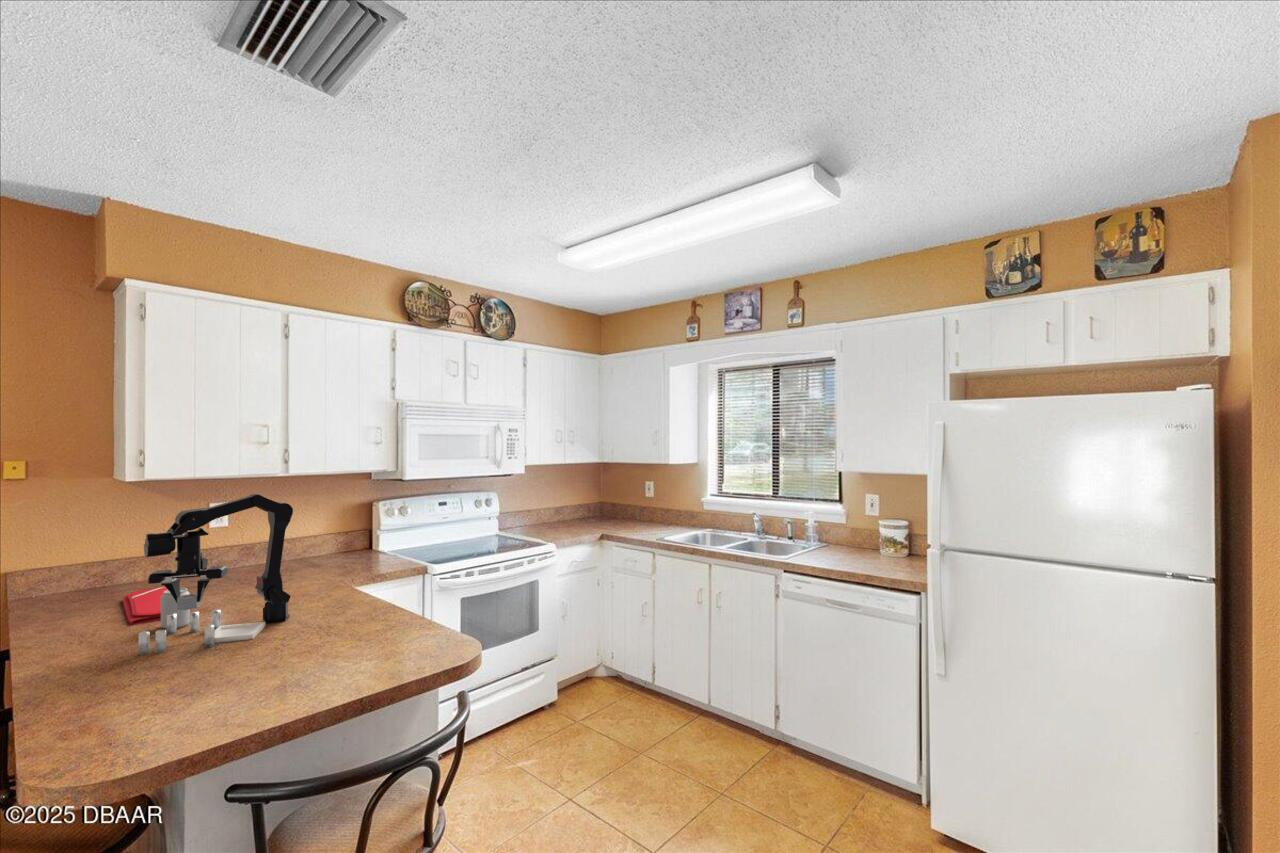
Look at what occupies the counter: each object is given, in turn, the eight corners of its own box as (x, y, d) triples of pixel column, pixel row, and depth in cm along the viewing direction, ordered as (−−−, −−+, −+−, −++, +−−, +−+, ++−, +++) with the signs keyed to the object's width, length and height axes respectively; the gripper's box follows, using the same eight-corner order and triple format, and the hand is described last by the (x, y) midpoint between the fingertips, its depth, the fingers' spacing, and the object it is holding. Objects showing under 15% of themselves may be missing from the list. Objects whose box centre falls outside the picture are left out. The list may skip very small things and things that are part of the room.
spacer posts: (236, 626, 190) (236, 607, 190) (212, 647, 171) (212, 626, 171) (169, 632, 184) (168, 613, 184) (136, 655, 165) (136, 634, 165)
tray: (265, 626, 189) (265, 621, 189) (252, 639, 177) (252, 634, 177) (220, 630, 185) (220, 626, 185) (204, 644, 173) (204, 639, 173)
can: (173, 630, 186) (173, 593, 186) (154, 629, 187) (154, 592, 187) (195, 623, 193) (195, 587, 193) (177, 622, 195) (177, 586, 195)
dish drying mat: (128, 627, 191) (128, 616, 191) (121, 602, 220) (121, 592, 220) (188, 616, 202) (188, 605, 202) (174, 594, 231) (174, 584, 232)
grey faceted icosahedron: (202, 604, 181) (202, 592, 181) (194, 609, 176) (194, 597, 176) (183, 605, 180) (183, 594, 180) (175, 611, 174) (175, 599, 174)
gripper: (233, 544, 188) (233, 592, 188) (164, 549, 183) (164, 598, 182) (220, 551, 178) (221, 602, 178) (146, 556, 172) (147, 608, 172)
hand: (189, 602), depth 178 cm, fingers closed on grey faceted icosahedron, 5 cm apart
